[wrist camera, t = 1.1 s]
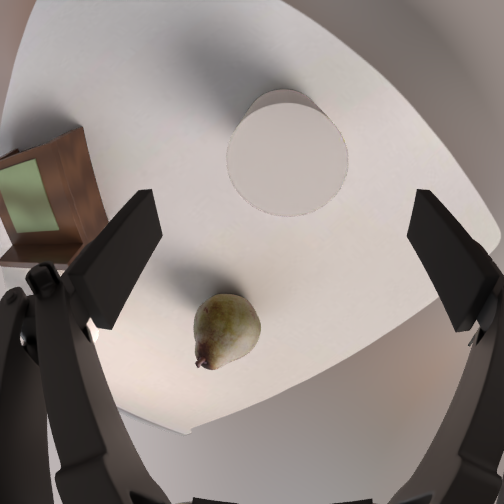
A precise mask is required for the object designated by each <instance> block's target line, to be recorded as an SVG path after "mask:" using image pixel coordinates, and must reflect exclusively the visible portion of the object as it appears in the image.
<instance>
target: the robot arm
mask: <svg viewBox="0 0 504 504" xmlns="http://www.w3.org/2000/svg"><path fill="white" fill-rule="evenodd" d="M162 236H163V235H162V231H161V226H160V222H159V218H158V214H157V210H156V205H155V201H154V197H153V192H152V189H147V190H138V191H137V192H136V194H135V195H134V196H133V197H132V198H131V199H130V200H129V201H128V202H127V203H126V204H125V205H124V206H123V207H122V209H121V210H120V211H119V212H118V213H117V214H116V215H115V216H114V217H113V219H112V220H111V221H110V222H109V223H108V224H107V225H106V227H105V228H104V229H103V230H102V231H101V232H100V234H99V235H98V236H97V237H96V238H95V239H94V240H92V241H91V242H90V243H88V244H87V245H86V246H85V247H84V248H83V249H82V250H81V252H80V253H79V255H77V256H76V258H75V259H74V261H73V262H72V263H71V264H70V265H69V267H68V268H67V269H66V270H65V272H64V273H63V274H62V276H61V277H60V276H59V274H58V272H57V270H56V268H55V266H54V264H53V262H51V261H44V262H41V263H39V264H37V265H35V266H34V267H33V268H32V269H31V270H30V271H29V272H28V273H27V275H26V278H25V279H26V281H27V283H28V285H29V287H30V288H31V290H32V292H33V293H34V295H29V296H26V295H25V293H24V291H23V290H22V288H20V287H15V288H13V289H10V290H8V291H7V292H6V293H5V295H4V296H3V297H2V299H1V301H0V504H54V500H53V493H52V485H51V477H50V468H49V456H48V441H47V414H48V419H49V422H50V427H51V431H52V435H53V439H54V442H55V446H56V449H57V453H58V456H59V459H60V463H61V469H60V470H59V471H58V472H57V473H56V474H55V482H56V487H57V489H58V492H59V495H60V497H61V500H62V503H63V504H171V502H170V501H169V499H168V497H167V496H166V494H165V493H164V492H163V490H162V489H161V488H160V486H159V485H158V484H157V483H156V482H155V481H154V480H153V479H152V477H151V476H150V475H149V473H148V471H147V470H146V468H145V466H144V465H143V462H142V460H141V458H140V457H139V455H138V453H137V451H136V449H135V447H134V445H133V443H132V441H131V439H130V436H129V434H128V432H127V430H126V428H125V426H124V423H123V421H122V419H121V416H120V414H119V412H118V409H117V407H116V405H115V402H114V400H113V397H112V395H111V392H110V389H109V387H108V384H107V381H106V379H105V376H104V373H103V370H102V367H101V364H100V361H99V358H98V355H97V352H96V349H95V345H94V342H93V339H92V335H91V332H90V329H89V328H88V326H87V323H88V321H89V319H90V318H91V319H92V321H93V323H94V324H95V326H96V328H102V329H109V330H112V328H113V326H114V324H115V322H116V320H117V318H118V316H119V314H120V312H121V310H122V308H123V306H124V304H125V302H126V300H127V299H128V297H129V295H130V293H131V291H132V289H133V287H134V285H135V284H136V282H137V280H138V278H139V276H140V274H141V273H142V271H143V269H144V267H145V265H146V264H147V262H148V260H149V258H150V257H151V255H152V253H153V251H154V250H155V248H156V246H157V245H158V243H159V241H160V239H161V238H162ZM407 238H408V239H409V241H410V243H411V244H412V246H413V248H414V250H415V251H416V253H417V255H418V257H419V259H420V260H421V262H422V264H423V266H424V268H425V270H426V271H427V273H428V275H429V277H430V279H431V281H432V283H433V285H434V287H435V289H436V291H437V293H438V295H439V297H440V299H441V301H442V303H443V305H444V307H445V310H446V312H447V314H448V316H449V318H450V320H451V323H452V325H453V327H454V330H455V332H462V331H469V330H470V329H471V328H472V326H473V324H474V323H475V321H476V320H477V321H478V323H479V325H480V327H479V329H478V330H477V332H476V333H475V335H474V336H473V338H472V340H471V341H470V342H469V344H468V346H470V345H471V344H472V343H473V345H472V348H471V351H470V354H469V357H468V360H467V363H466V366H465V369H464V372H463V374H462V377H461V380H460V382H459V385H458V387H457V390H456V392H455V395H454V397H453V400H452V402H451V404H450V407H449V409H448V411H447V413H446V415H445V417H444V419H443V422H442V424H441V426H440V428H439V430H438V432H437V434H436V436H435V437H434V439H433V441H432V443H431V445H430V447H429V449H428V450H427V453H426V454H425V456H424V458H423V459H422V461H421V462H420V464H419V466H418V467H417V469H416V471H415V472H414V474H413V475H412V477H411V478H410V480H409V481H408V482H407V483H406V484H405V485H404V486H403V487H401V488H400V489H399V490H398V492H397V493H396V494H395V495H394V496H393V497H392V499H391V500H390V501H389V503H388V504H494V502H495V500H496V498H497V496H498V499H497V503H496V504H504V475H503V479H502V477H501V476H499V475H498V474H497V468H498V465H499V462H500V460H501V456H502V454H503V451H504V275H503V274H502V272H501V271H500V270H499V268H498V267H497V265H496V264H495V263H494V262H493V261H492V258H491V257H490V256H489V255H488V253H487V252H486V251H485V249H484V248H483V247H482V246H481V245H480V244H479V243H478V242H476V241H475V240H474V239H472V238H471V236H470V235H469V234H468V233H467V231H466V230H465V229H464V228H463V227H462V225H461V224H460V223H459V222H458V221H457V220H456V218H455V217H454V216H453V215H452V214H451V213H450V212H449V210H448V209H447V208H446V207H445V206H444V205H443V204H442V203H441V202H440V201H439V200H438V198H437V197H436V196H435V195H434V194H433V193H432V192H431V191H430V190H422V189H417V192H416V197H415V202H414V207H413V211H412V216H411V220H410V224H409V229H408V233H407ZM20 336H21V337H22V339H23V340H24V344H23V345H21V341H20ZM499 491H500V492H499ZM498 494H499V495H498ZM178 504H237V503H230V502H221V501H214V500H207V499H201V498H195V497H193V501H192V502H183V503H178ZM334 504H376V503H373V502H372V499H366V500H360V501H353V502H344V503H334Z"/></svg>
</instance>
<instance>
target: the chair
mask: <svg viewBox="0 0 504 504" xmlns="http://www.w3.org/2000/svg"><path fill="white" fill-rule="evenodd" d="M0 218H1V220H2V222H3V225H4V227H5V229H6V232H7V234H8V236H9V238H10V240H11V243H12V247H11V248H10V249H9V250H8V251H7V252H6V253H5V254H4V255H3V256H2V257H1V258H0V266H3V267H17V268H33V267H34V266H35V265H37V264H39V263H41V262H44V261H51V262H53V264H54V266H55V268H56V270H66V269H67V268H68V267H69V265H70V264H71V263H72V262H73V261H74V259H75V258H76V256H77V255H79V253H80V252H81V250H82V249H83V248H84V247H85V246H86V245H87V244H88V243H90V242H91V241H92V240H94V239H95V238H96V237H97V236H98V235H99V234H100V232H101V231H102V230H103V229H104V228H105V226H106V225H107V224H108V223H109V222H108V219H107V216H106V213H105V210H104V207H103V203H102V200H101V197H100V193H99V190H98V186H97V183H96V179H95V176H94V172H93V168H92V164H91V160H90V156H89V152H88V148H87V144H86V139H85V135H84V130H83V127H80V128H76V129H73V130H70V131H68V132H66V133H64V134H62V135H60V136H58V137H56V138H55V139H53V140H51V141H49V142H47V143H45V144H42V145H39V146H37V147H34V148H31V149H28V150H25V151H22V152H20V153H19V150H18V149H15V150H13V151H10V152H9V153H7V154H5V155H4V156H2V157H0Z"/></svg>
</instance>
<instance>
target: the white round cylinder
mask: <svg viewBox="0 0 504 504" xmlns="http://www.w3.org/2000/svg"><path fill="white" fill-rule="evenodd" d="M226 164H227V171H228V175H229V178H230V180H231V182H232V184H233V186H234V188H235V189H236V191H237V192H238V194H239V195H240V196H241V197H242V198H243V199H244V200H245V201H246V202H247V203H249V204H250V205H252V206H253V207H255V208H256V209H258V210H260V211H263V212H265V213H268V214H271V215H276V216H284V217H292V216H300V215H305V214H308V213H311V212H313V211H316V210H318V209H320V208H321V207H323V206H324V205H326V204H327V203H328V202H330V201H331V200H332V199H333V198H334V197H335V195H336V194H337V193H338V192H339V190H340V189H341V187H342V185H343V183H344V181H345V178H346V175H347V171H348V150H347V146H346V143H345V140H344V138H343V136H342V134H341V132H340V131H339V129H338V128H337V127H336V125H335V124H334V123H333V122H332V121H331V120H330V119H329V118H328V117H327V116H326V114H325V113H324V112H323V111H322V110H321V109H320V108H319V107H318V106H317V105H316V104H315V103H314V102H313V101H312V100H311V99H310V98H308V97H307V96H306V95H304V94H302V93H300V92H297V91H294V90H289V89H279V90H273V91H270V92H267V93H265V94H263V95H262V96H260V97H259V98H258V99H257V100H256V101H255V102H254V103H253V104H252V105H251V107H250V108H249V110H248V111H247V113H246V114H245V116H244V117H243V119H242V120H241V122H240V123H239V125H238V126H237V128H236V129H235V131H234V133H233V134H232V136H231V138H230V141H229V144H228V148H227V154H226Z"/></svg>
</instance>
